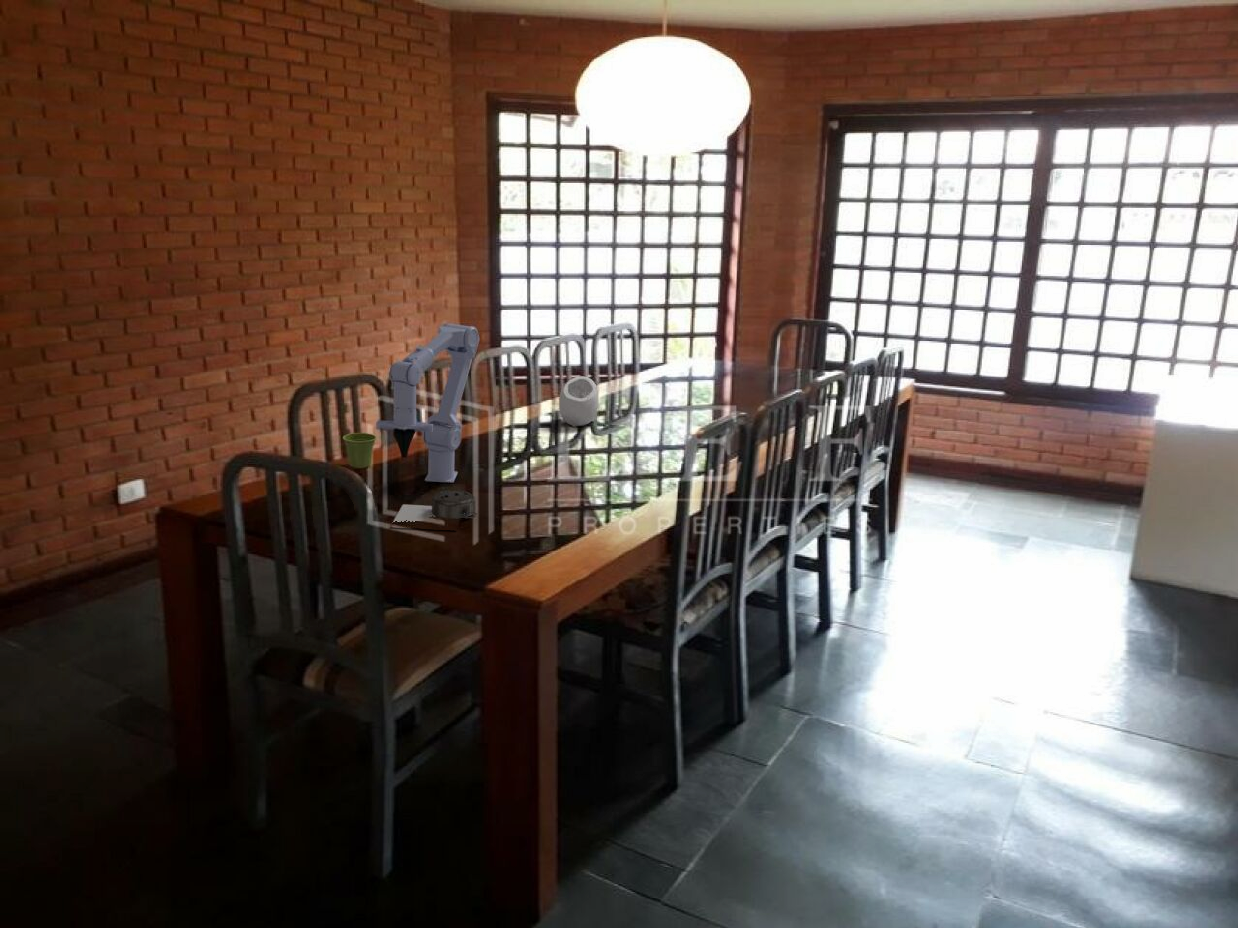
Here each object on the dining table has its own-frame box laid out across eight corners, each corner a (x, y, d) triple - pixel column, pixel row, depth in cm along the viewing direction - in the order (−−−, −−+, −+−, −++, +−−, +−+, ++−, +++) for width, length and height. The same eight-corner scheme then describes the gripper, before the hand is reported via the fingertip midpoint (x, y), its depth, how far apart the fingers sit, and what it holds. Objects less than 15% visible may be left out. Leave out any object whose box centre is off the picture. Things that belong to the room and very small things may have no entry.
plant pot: (341, 470, 271) (341, 441, 268) (344, 460, 280) (344, 432, 277) (375, 470, 273) (375, 441, 270) (377, 461, 282) (377, 433, 279)
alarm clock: (421, 507, 244) (454, 530, 233) (422, 488, 242) (455, 510, 231) (458, 501, 251) (492, 523, 239) (459, 482, 249) (493, 503, 238)
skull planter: (605, 411, 354) (603, 371, 340) (594, 447, 339) (591, 407, 326) (569, 407, 356) (565, 367, 342) (556, 443, 341) (552, 403, 328)
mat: (403, 506, 246) (403, 504, 246) (465, 509, 247) (465, 507, 247) (390, 527, 231) (390, 526, 231) (456, 531, 231) (456, 529, 231)
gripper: (373, 408, 244) (373, 459, 248) (430, 412, 245) (429, 462, 249) (379, 402, 251) (379, 451, 255) (434, 405, 252) (433, 454, 256)
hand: (404, 456), depth 252 cm, fingers closed
